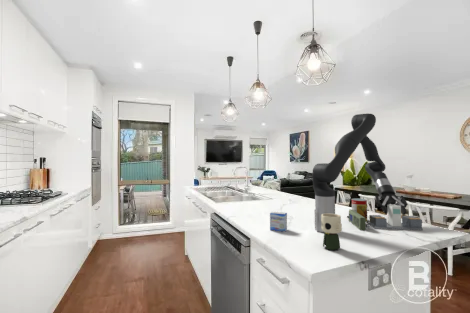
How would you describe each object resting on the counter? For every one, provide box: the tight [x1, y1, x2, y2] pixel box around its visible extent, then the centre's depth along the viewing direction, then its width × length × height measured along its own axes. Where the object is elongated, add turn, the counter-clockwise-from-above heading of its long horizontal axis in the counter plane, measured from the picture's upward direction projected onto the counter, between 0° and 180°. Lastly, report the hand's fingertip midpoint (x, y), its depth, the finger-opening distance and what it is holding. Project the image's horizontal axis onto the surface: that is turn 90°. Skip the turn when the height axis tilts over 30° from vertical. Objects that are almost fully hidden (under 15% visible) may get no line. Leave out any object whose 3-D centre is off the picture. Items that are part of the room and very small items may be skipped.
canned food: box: [351, 197, 368, 222], centre depth 136 cm, size 8×8×12 cm
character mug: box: [321, 213, 343, 251], centre depth 92 cm, size 11×7×13 cm, turn 18°
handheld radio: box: [346, 208, 367, 232], centre depth 127 cm, size 7×3×25 cm
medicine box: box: [269, 211, 288, 232], centre depth 118 cm, size 8×4×9 cm, turn 68°
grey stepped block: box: [366, 214, 424, 231], centre depth 121 cm, size 22×9×5 cm, turn 81°
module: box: [386, 204, 402, 226], centre depth 121 cm, size 4×5×10 cm
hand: (395, 213), depth 119 cm, fingers open, 8 cm apart
